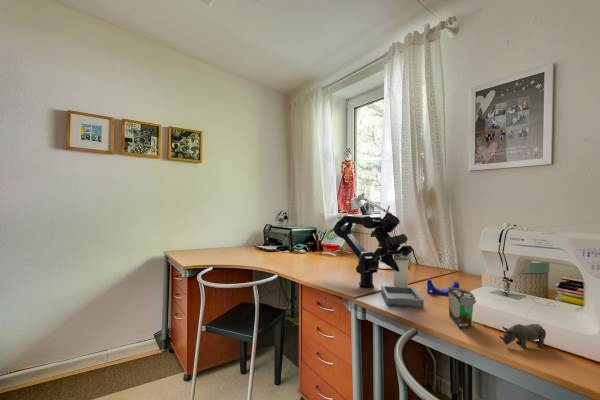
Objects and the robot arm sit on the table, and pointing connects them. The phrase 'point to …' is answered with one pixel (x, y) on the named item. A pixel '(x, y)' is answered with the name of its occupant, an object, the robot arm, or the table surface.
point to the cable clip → (437, 291)
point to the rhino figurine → (524, 334)
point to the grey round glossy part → (401, 271)
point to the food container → (461, 307)
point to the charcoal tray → (402, 297)
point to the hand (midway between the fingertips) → (403, 270)
